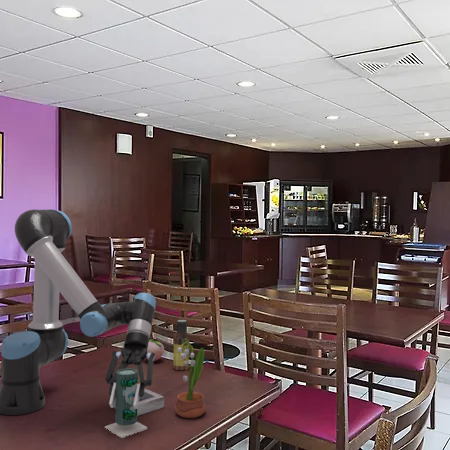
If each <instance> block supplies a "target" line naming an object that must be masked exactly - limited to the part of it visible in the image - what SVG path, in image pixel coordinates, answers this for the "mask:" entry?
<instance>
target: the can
mask: <svg viewBox="0 0 450 450" xmlns="http://www.w3.org/2000/svg"><path fill="white" fill-rule="evenodd" d="M115 373H116V409H115V422H114V423H116V424H118V425H122V426H124V425H126V426H127V425H132V424H134V423H136V422H138V416H137V409H135V408H134V405H133V404H134V399H135V394H136V389H137V384H139V383H138V382H139V379H138V378H139V372H138V369H135V368H131V367H130V368H128V367H127V368H126V369H120V370H118V371H117V370H115Z"/></svg>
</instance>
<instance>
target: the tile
mask: <svg viewBox="0 0 450 450" xmlns="http://www.w3.org/2000/svg"><path fill="white" fill-rule="evenodd" d="M105 428H106V429H105ZM104 429H105V430H107V429H108V430H109V431H108V430H107V431H108V432H110V431H111V432H110V433H112V434H113V435H115V434H116V435H115V436H117V437H119V438H121V439H125V438H126V436H127V437H129V435H130V436H132V435H135V434H137V432H138V433H140V432H143V431H146V430H148V426H146V425H145V424H142V423H140V422H139V421H137V422H136V423H134V424H132V425H127V426H126V425H124V426H122V425H118V424H116V422H114V423H109V424H108V425H105V426H104ZM134 433H135V434H134Z"/></svg>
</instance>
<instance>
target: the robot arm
mask: <svg viewBox="0 0 450 450" xmlns="http://www.w3.org/2000/svg"><path fill="white" fill-rule="evenodd" d="M72 231H73V226H72V222H71V219H70V218H69V216H68V215H67V214H66V213H64V212H63V211H61V210H58V209H29V210H26V211H24V212H22V213H21V214H20V215H19V216H18V217H17V219H16V221H15V223H14V235H15V238H16V240H17V242H18V244H19V246H20V247H21V249H22V250H23V251H24V253H26V255H27V256H29V257H31V256H32V258H33V259H34V273H33V274H34V275H33V276H34V277H33V278H34V279H33V305H32V307H33V308H32V309H33V310H32V312H33V313H32V321H31V322H30V323H29V324H28V325H27V326H28V327H27V331H20V332H15V333H12V334H9V335H8V336H6V337H5V338H4V339H3V340H2V343H1V351H0V353H1V354H0V355H1V384H0V415H5V416H19V415H27V414H30V413H34V412H36V411H39V410H41V409H42V408H44V407H45V405H46V396H45V393H44V391H43V387H42V384H41V381H40V380H41V379H40V375H41V374H40V372H41V371H40V368H41V367H43V366H46V365H47V364H49V363H51V362H55V361H56V360H58V359H59V358H60V357H62V356H63V354H64V353H65V352H66V351H67V349H68V345H69V336H68V333H67V332H66V330H65V329H64V325H63V322H62V321H61V320H60V319H59V318H60V316H59V314H60V312H59V311H60V294H61V295H62V297H63V298H64V299H65V300H66V302H67V303H68V304H69V306H70V308H72V310H73V311H74V313H76V315H77V316H78V318H79V319H80V321H79V327H80V330H81V333H83V335H85V336H87V337H92V338H93V337H96V336H100V335H102V334H105V333H106V332H108V331H110V330H112V329H114V328H116V327H118V326H123V325H124V326H125V325H128V326H127V330H126V336H125V339H124V344H123V347H122V349H121V350H120V351H116V350H113V351H112V352H111V356H112V358H111V360H110V363H109V367H108V369H107V373H106V375H105V381H106V384H107V385H108V384H109V389H108V395H109V397H110V398H109V403H108V405H109V407H110V408H111V409H115V408H114V403H115V399H116V371H118V370H120V369H126V368H128V367H129V366H131V365H135V366H137V371H138V378H139V383H138V384H137V389H136V394H135V399H134V404H133V405H134V408H135V409H137V408H138V403H139V402H140V400H139V398H140V397H143V394H144V389H146V387H147V386H148V387H151V386H152V385H153V374H154V373H153V372H154V363H155V362H156V361H155V359H156V357H155V353H148V351H147V349H148V344H149V338H150V333H151V334H152V325H153V322H154V321H153V320H154V316H155V313H156V304H157V300H156V298H155V296H153V294H151V293H149V292H148V293H147V292H138V294H136V295H135V296H134V299H133V300H131V301H130V300H129V301H124V302H113V303H111V302H108V303H105V304H100V302H99V301H98V300H97V299H96V297H95V296H94V295H93V293H92V292H91V291H90V289H89V288H88V286H87V285H86V284H85V283H84V282H83V280H82V279H81V277H80V276H79V275H78V273H77V272H76V271H75V270H74V268H73V267H72V266H71V264H70V263H69V262H68V261H67V259H66V258H65V257H64V255H63V254H62V252H63V251H64V250H65V249H66V242H67V240H68V239H69V238H70V236H71V234H72ZM120 357H121V358H122V360H121V362H120V364H119V366H118V368H117V370H116V367H117V365H118V361H119V360H120ZM146 357H148V359H147V358H146ZM145 359H147V372H146V379H145V375H144V374H145V373H144V368H143V363H142V362H143V361H145Z"/></svg>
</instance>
